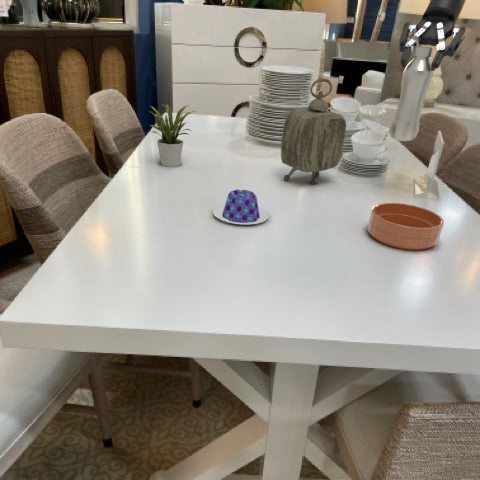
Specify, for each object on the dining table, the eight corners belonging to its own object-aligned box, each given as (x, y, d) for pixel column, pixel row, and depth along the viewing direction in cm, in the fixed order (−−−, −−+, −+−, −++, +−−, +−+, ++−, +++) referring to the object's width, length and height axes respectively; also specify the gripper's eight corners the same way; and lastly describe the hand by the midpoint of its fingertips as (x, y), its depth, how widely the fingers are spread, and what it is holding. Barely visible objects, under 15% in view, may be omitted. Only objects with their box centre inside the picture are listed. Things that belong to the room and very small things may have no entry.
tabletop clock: (316, 174, 134) (332, 76, 120) (339, 183, 128) (358, 81, 114) (276, 180, 127) (288, 76, 113) (298, 190, 121) (314, 82, 107)
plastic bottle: (388, 136, 119) (408, 45, 108) (416, 139, 118) (439, 47, 107) (386, 141, 114) (407, 46, 103) (415, 145, 113) (440, 48, 102)
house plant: (202, 159, 138) (204, 99, 129) (198, 173, 127) (199, 107, 118) (154, 155, 138) (152, 94, 129) (145, 169, 126) (142, 102, 117)
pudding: (206, 208, 105) (207, 185, 102) (256, 205, 109) (258, 183, 106) (222, 229, 96) (224, 204, 93) (276, 225, 99) (279, 201, 97)
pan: (425, 227, 105) (431, 205, 102) (445, 255, 93) (453, 231, 90) (361, 222, 105) (366, 200, 102) (374, 249, 93) (379, 225, 90)
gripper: (476, 21, 108) (449, 82, 106) (414, 17, 114) (387, 75, 112) (480, -8, 102) (451, 56, 99) (414, -11, 108) (385, 49, 106)
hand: (417, 66), depth 106 cm, fingers closed on plastic bottle, 6 cm apart
